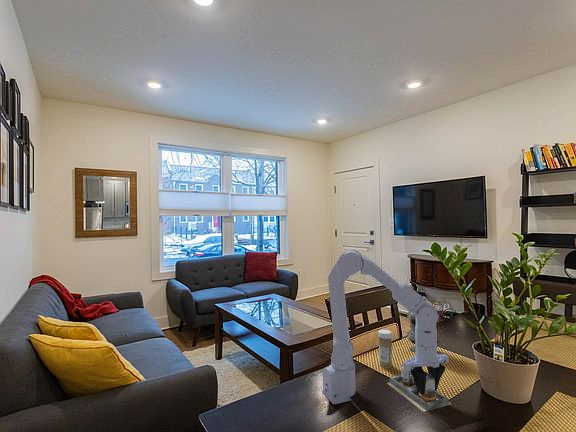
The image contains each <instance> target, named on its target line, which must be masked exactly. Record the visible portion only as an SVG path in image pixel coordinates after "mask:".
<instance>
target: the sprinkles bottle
mask: <svg viewBox="0 0 576 432" xmlns="http://www.w3.org/2000/svg"><path fill="white" fill-rule="evenodd" d="M377 333H378V342H379V343H378V357H379V367H380V368H382V369H386V370H389V369H390V370H391V369H392V368H393V349H392V348H393V347H392V346H393V345H392V340H393V339H392V338H393V332H392V331H391V330H389V329H380V330H378V332H377Z"/></svg>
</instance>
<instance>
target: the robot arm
mask: <svg viewBox="0 0 576 432" xmlns="http://www.w3.org/2000/svg"><path fill="white" fill-rule="evenodd" d="M359 271H360V275H365V276H366V275H367V276H370V277H372V278H374V280H376V281H377V282H379V283H380V284H381V285H383V286H384V287H386V289H388V290H389V291H390V292H391V293H392V295H391V297H392V298H393V300H394V301H396V302H397V303H398V304H400V305H401V306H402V307H403V308H404V309H405V310H407V311H408V312H411V313H414V314H415V315H416V326H415V344H414V346H415V347H416V352H415V356H413V357H411V358H410V359H408V360H405V361H403V362H402V364H404V369H405V370H407V371H410V372H411V374H412V376H413V378H414V381H415V384H416V387H417V391H418V392H419V393H421V394H424V392H425V380H426V376H427V374H430V375H432V376H434V377H435V391H437V392H438V387H439V385H440V384H439V383H440V381H441V378H442V376H443V374H444V373H445V371H446V366H444V365H443V363H444V364H449V363H450V360H449V356H448V354H447V355H446V354H445V353H438V344H437V335H438V334H437V333H438V332H437V323H438V322H439V321H438V319H439V320H440V315H439V313H438V310H437V309H436V307H435V305H433V304H432V302H430V300H429V299H428V298H427V296H422V295H421V294H419V293H418V292H417V291H416V290H415V289H414V287H413V286H412V284H411V283H409V284H408V283H406V282H397V280H396V279H394V278H393V276H391V275H390V274H388V273H387V272H386V271H385V270H384V269H383V268H382V267H380V266H379V265H378V264H377V263H376V262H374V261H373V260H371V259H370V258H368V257H367V256H366V255H364V254H361V253H360V252H359V251H358V250H356V249H348V250H346V251H345V252H343V254H341V255H340V256H339V257H338V259H337V261H336V262H335V264H334V266H333V268H332V269H331V270H330V273H329V275H328V278H327V281H328V292H329V301H330V311H331V323H332V325H331V326H332V333H333V334H332V335H333V337H332V338H333V339H332V340H333V341H332V342H333V343H332V347H333V349H332V353H331V356H330V361H331V362H330V363H331V364H329V365H328V366H326V367H324V368H323V369H322V388H321V389H322V390H321V392H322V393H323V394H324V395H325V397H326V398H327V399H328V400H329V401H330V402H331V404H333V405H338V404H342V403H346V402H350V401H353V399H352V398H351V397H353V396H354V395H355V394H356V363H355V361H354V359H353V357H354V356H353V355H354V352H355V350H354V349H355V347H354V344H353V342H352V341H351V338H350V332H349V323H348V322H349V321H348V313H347V304H346V303H347V302H346V291H345V282H346V280H348V279H349V277H351V276H353V275H355V274H357V273H359ZM437 321H438V322H437ZM436 322H437V323H436ZM424 367H426V368H427V372H426V371H425V370H424Z"/></svg>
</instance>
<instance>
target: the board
mask: <svg viewBox="0 0 576 432" xmlns="http://www.w3.org/2000/svg"><path fill="white" fill-rule="evenodd" d="M400 381H401V374H400V375H395V376H391V377H389V382H387V383H386V384H387V385H389V387H391V388H392V389H394V390H395V391H396V392H397V393H399V394H400V395H401V396H403V398H405V399H406V400H408V401H409V402H410V403H411V404H413V405H414V406H415V407H416V408H418V409H419V410H420V411H422V412H427V411H432V410H435V409H438V408H439V409H441V408H443V407H446V406H447V407H448V406H450V405H452V402H450V401H449V398H448V397H446V396H445V395H443V394H442V393H440V392H439V391H438V390H437V391H435V394H436V400H435V401H431V402H426V401H423V400H422V399H421V398H419V392H418V391H417V387H416V386H414V387H410V388H406V387H404V386H403V385H402V384H400Z"/></svg>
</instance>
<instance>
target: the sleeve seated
mask: <svg viewBox="0 0 576 432" xmlns="http://www.w3.org/2000/svg"><path fill="white" fill-rule="evenodd" d="M400 375H401V381H400V384H402V385H403V386H404V387H406V388H410V387H414V386H416V384H415V381H414V378H413V376H412V374H411V372H410V371H407V370H405V369H404V363H402V364H401V365H400Z"/></svg>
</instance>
